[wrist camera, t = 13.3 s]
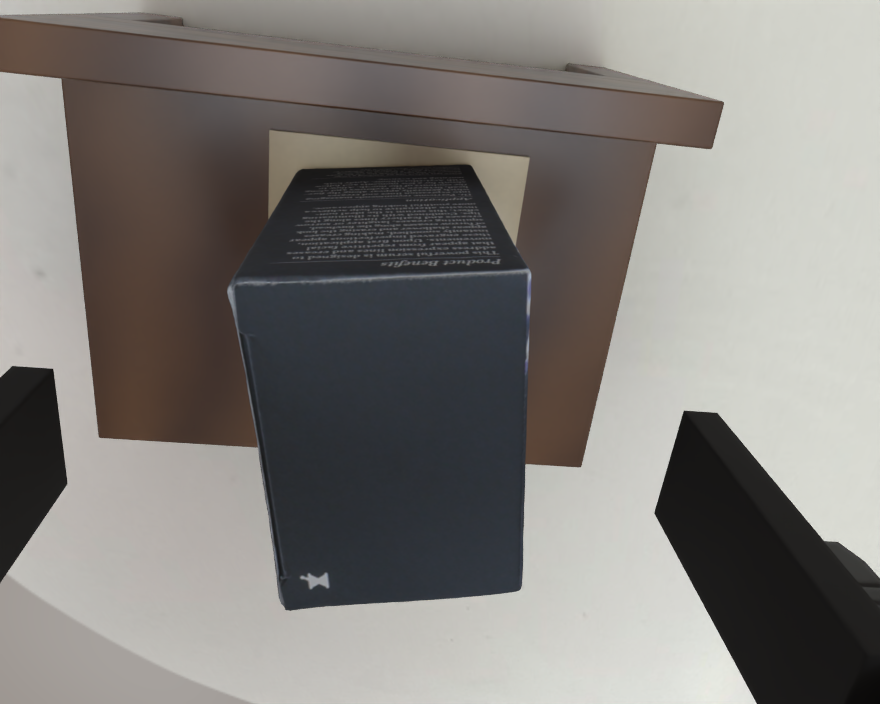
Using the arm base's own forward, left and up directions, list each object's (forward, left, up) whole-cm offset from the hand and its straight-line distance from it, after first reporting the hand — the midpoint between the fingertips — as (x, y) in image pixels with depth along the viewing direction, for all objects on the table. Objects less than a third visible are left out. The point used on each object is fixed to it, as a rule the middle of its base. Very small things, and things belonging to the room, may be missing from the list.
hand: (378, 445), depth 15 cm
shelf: (-1, 0, -17) cm, 17 cm away
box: (0, 0, -10) cm, 10 cm away
